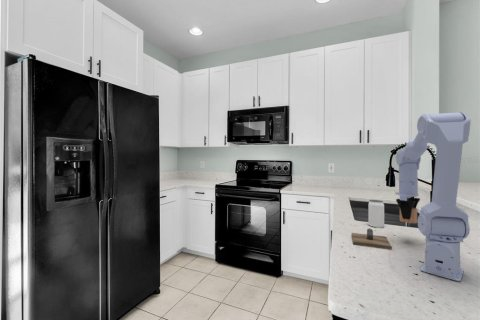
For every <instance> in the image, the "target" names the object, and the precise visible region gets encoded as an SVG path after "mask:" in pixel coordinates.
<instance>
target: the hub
mask: <svg viewBox="0 0 480 320" xmlns="http://www.w3.org/2000/svg"><path fill="white" fill-rule="evenodd" d="M399 222H402V223H404V224H405V223H407V224H418V209H417V207H416V208H412V212H411V218H410V219H403V217H402V214H401V210H400V209H399Z"/></svg>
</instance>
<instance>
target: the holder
mask: <svg viewBox="0 0 480 320" xmlns="http://www.w3.org/2000/svg"><path fill="white" fill-rule="evenodd" d="M351 239H352V244H353V246H354V245H355V246H360V247H370V248H378V249H384V250H385V249H386V250H393V246H392V244H391V243H390V242H389V240H388V238H387V236H384V235H376V234H374V231H373V229H372V228H367V229H366V234H365V233H359V232H358V233H356V232H351Z"/></svg>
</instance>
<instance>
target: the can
mask: <svg viewBox="0 0 480 320" xmlns="http://www.w3.org/2000/svg"><path fill="white" fill-rule="evenodd" d="M367 204H368V207H367V210H368V216H367V217H368V218H367V219H368V226H369V225H370V227H371V226H373V228H376V227H383V228H384V227H385V204H384V200H380V199H369V202H368V203H367Z"/></svg>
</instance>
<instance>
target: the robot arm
mask: <svg viewBox="0 0 480 320" xmlns="http://www.w3.org/2000/svg"><path fill="white" fill-rule="evenodd" d="M416 128H417V134H416V136H415V137H414V138H411V139H409V141H408V142H407V143H406V145H405V146H404V148H403V149H397V152H396V153H395V154H396V156H395V161H396V164H397V165H398V191H396V192H394V193H395V195H398V196H399V198H396V199H395V201H396V203H397V205H398V206H399V207H398V208H399V211H400V210H401V214H402V217H403V219H410V218H411V212H412V208H416V209H417V206H418V204H419V203H420V201H421V198H419V192H418V191H419V190H418V189H419V188H418V186H419V185H418V184H419V183H418V176H419V175H418V170H420V163H421V159H422V156H423V155H424V153H425V152H427V150H428V144H431V145H434V147H436V151H435V164H434V173H433V183H432V194H431V202H429V203H427V204H425V205H424V206H423V205H422V207H421V208H420V211H419V215H418V216H417V227H418V230H419V233H421V234H422V235H423V236H424V237H425V249H424V263H423V265H422V267H421V268H420V271H421V272H424V273H428V274H431V275H435V276H439V277H442V278H446V279H449V280H452V281H455V282H461V281H462V278H463V277H462V276H463V273H464V268H462V267H461V242H462V243H464V239H466V238H468V236H469V235H470V232H471V231H470V229H471V228H470V224H469V215H468V213H466V212H465V210H463V208H460V207H458V205H457V199H458V198H457V197H458V189H459V183H460V181H459V180H460V173H461V163H462V155H463V146H464V144H465V143H467V142H469V136H470V129H471V119H470V117H468V115H467V114H466V112H464V111H458V112H445V113H442V112H441V113H423V114H421V115H420V116H419V118H418V120H417V124H416Z"/></svg>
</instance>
